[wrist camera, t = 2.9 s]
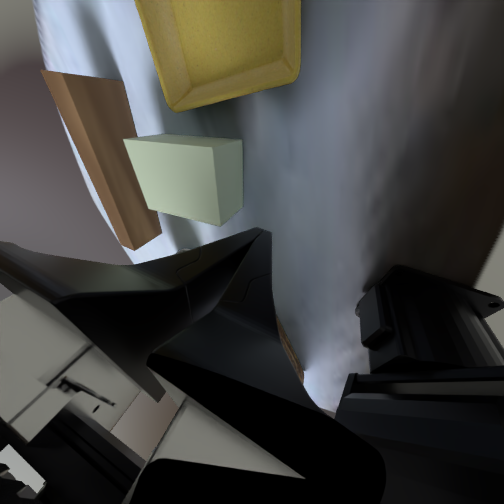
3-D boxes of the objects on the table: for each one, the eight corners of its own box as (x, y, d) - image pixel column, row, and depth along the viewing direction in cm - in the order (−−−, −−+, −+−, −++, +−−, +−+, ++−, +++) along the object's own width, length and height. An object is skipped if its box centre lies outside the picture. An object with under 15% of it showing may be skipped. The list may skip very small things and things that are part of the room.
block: (243, 139, 13) (212, 147, 10) (244, 205, 16) (220, 226, 13) (166, 133, 15) (122, 139, 12) (180, 193, 18) (148, 208, 15)
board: (122, 81, 14) (61, 73, 11) (162, 233, 23) (134, 250, 20) (103, 78, 14) (40, 69, 11) (149, 228, 23) (121, 244, 20)
